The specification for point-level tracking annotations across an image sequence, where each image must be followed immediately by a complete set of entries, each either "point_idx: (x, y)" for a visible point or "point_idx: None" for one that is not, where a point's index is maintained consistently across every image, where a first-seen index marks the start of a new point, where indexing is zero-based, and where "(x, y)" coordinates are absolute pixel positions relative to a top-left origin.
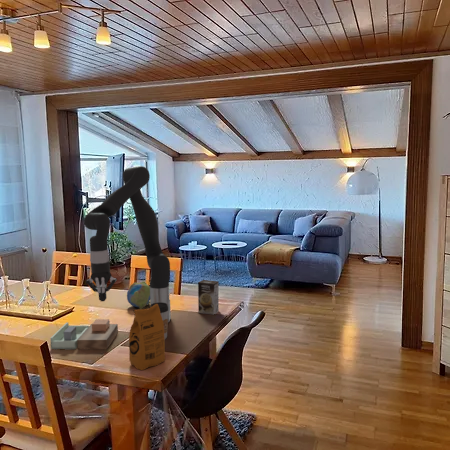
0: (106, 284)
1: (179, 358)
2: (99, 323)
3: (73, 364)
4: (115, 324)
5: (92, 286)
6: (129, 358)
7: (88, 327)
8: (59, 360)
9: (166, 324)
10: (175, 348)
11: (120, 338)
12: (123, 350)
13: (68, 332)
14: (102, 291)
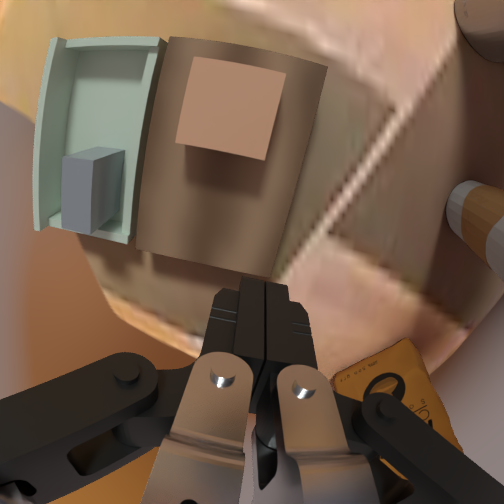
0: (363, 476)
1: (448, 352)
2: (223, 138)
3: (168, 340)
4: (316, 68)
5: (81, 476)
6: (335, 388)
7: (159, 83)
8: (116, 304)
9: None
10: (469, 298)
11: (329, 153)
12: (330, 282)
13: (81, 231)
14: (260, 437)
